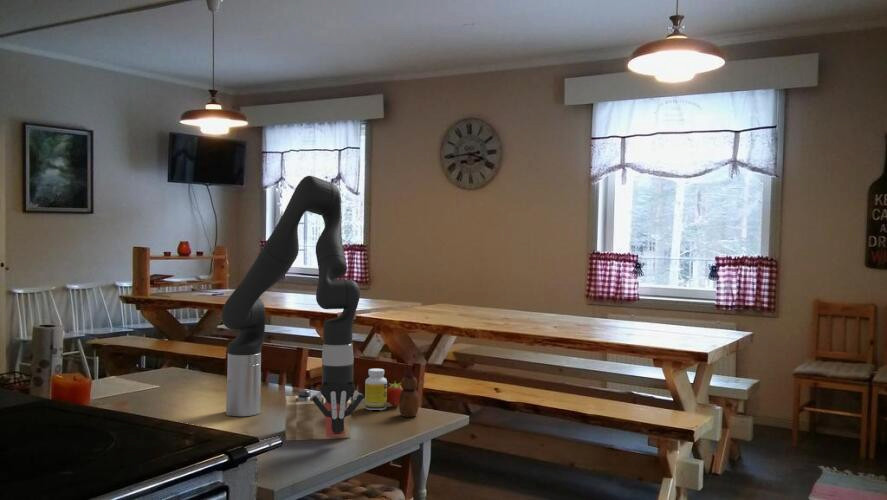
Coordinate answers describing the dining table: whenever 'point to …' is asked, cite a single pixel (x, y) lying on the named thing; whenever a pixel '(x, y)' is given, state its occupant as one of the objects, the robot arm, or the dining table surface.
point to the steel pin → (303, 395)
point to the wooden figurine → (408, 395)
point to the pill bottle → (376, 390)
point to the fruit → (394, 394)
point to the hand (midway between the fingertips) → (337, 433)
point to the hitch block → (309, 420)
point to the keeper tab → (329, 422)
